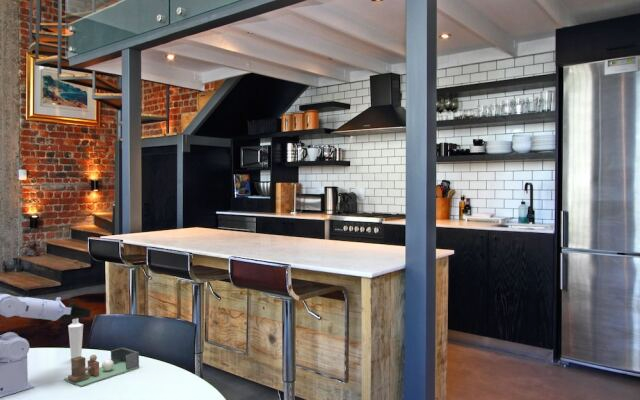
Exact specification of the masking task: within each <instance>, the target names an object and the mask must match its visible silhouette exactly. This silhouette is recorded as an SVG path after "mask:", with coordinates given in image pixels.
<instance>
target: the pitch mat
mask: <svg viewBox="0 0 640 400" xmlns="http://www.w3.org/2000/svg"><path fill="white" fill-rule="evenodd" d="M138 369H139V368H138V367H135V368H132V369H129V370H126V363H124V362H120V363H117V364H114V367H113V368H112V369H111V370H110V371H105V370H103V368H102V366H99V375H97V376H93V375H90V374H89V378H88V379H84V380H81V381H78V382H73V381H70V380H68V376H67V377H64V378H63V381H65V382H67V383H70V384H73V385H75V386H78V387H80V388H82V387H86V386H89V385H92V384H95V383H98V382H101V381H104V380H107V379H108V380H109V379H110V378H114V377H117V376H120V375H122V374H125V373H129V372H132V371H135V370H138ZM86 373H88V371H86Z"/></svg>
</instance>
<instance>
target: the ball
mask: <svg viewBox="0 0 640 400" xmlns="http://www.w3.org/2000/svg"><path fill="white" fill-rule="evenodd" d="M101 367H102V368H103V370H105V371H110V370H111V369H112V368H113V367H114V363H113V361H112V360H111V358H110V359H109V358H108V359H105V360H104V361H103V362H102V364H101Z"/></svg>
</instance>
